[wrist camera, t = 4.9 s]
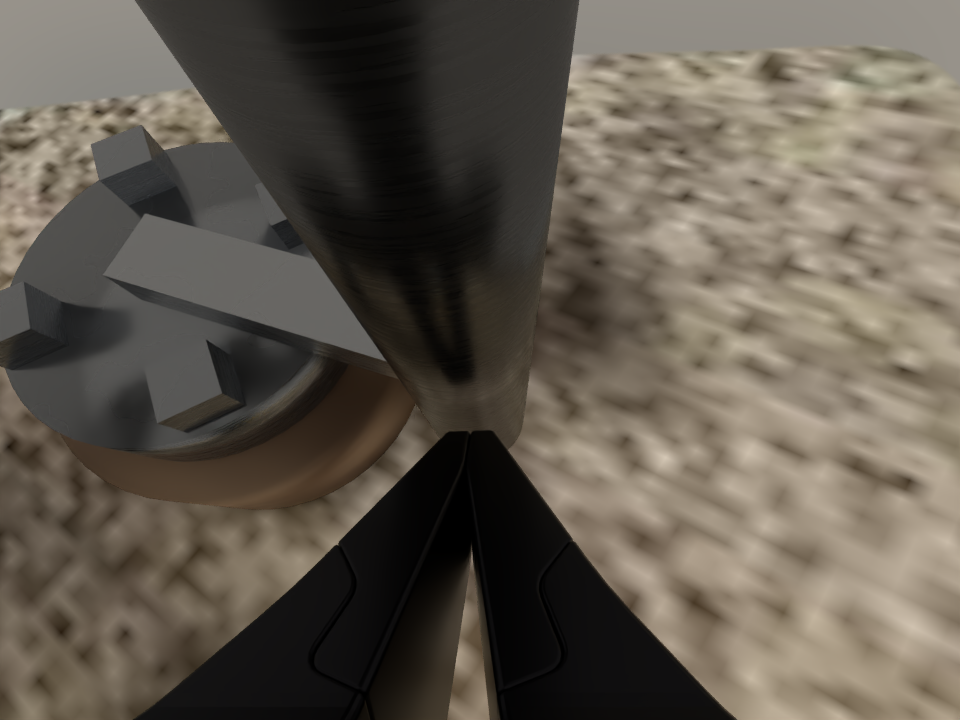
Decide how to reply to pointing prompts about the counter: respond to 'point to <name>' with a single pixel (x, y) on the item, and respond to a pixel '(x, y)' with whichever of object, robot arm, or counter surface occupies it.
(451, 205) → the lugged disk with column
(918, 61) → the counter surface
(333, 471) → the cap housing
